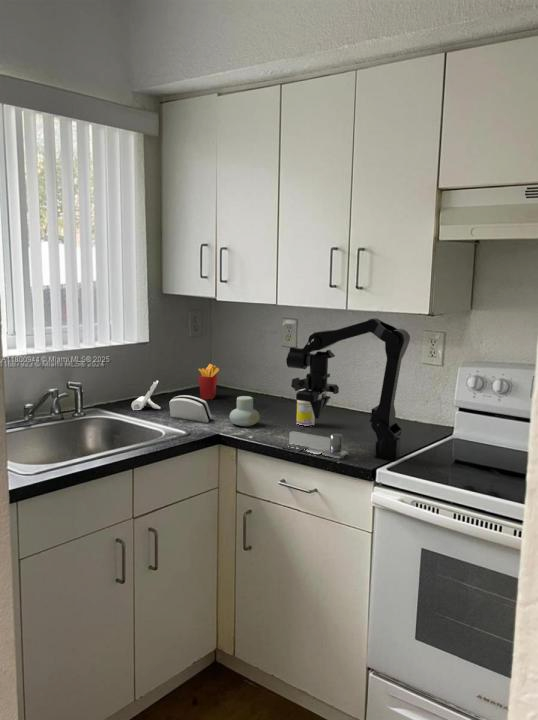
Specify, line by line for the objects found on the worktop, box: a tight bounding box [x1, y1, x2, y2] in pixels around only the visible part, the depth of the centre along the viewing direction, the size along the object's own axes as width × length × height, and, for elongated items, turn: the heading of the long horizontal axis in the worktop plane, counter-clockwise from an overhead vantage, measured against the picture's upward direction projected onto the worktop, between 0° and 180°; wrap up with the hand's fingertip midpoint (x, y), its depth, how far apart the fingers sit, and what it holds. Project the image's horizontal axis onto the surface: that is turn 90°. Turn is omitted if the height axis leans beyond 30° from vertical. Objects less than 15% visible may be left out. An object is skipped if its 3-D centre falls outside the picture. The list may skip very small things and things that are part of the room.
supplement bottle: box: [296, 388, 316, 426], centre depth 241 cm, size 7×7×13 cm
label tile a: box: [306, 447, 327, 454], centre depth 208 cm, size 6×5×1 cm
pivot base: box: [321, 450, 350, 459], centre depth 205 cm, size 6×6×1 cm
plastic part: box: [130, 380, 161, 411], centre depth 261 cm, size 8×10×12 cm
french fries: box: [197, 363, 220, 401], centre depth 283 cm, size 9×8×15 cm
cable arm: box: [288, 430, 343, 453], centre depth 208 cm, size 18×4×5 cm, turn 58°
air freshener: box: [229, 395, 260, 427], centre depth 240 cm, size 11×8×10 cm
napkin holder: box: [168, 394, 215, 423], centre depth 247 cm, size 17×5×10 cm, turn 61°
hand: (317, 418), depth 214 cm, fingers closed
